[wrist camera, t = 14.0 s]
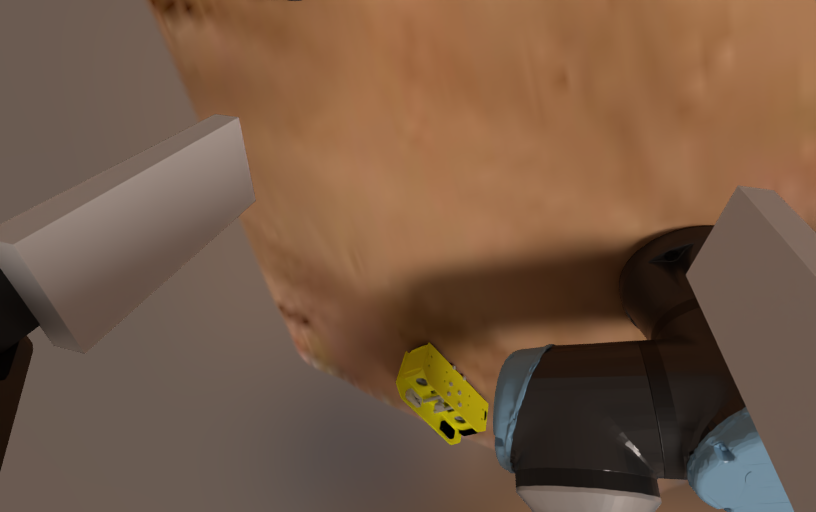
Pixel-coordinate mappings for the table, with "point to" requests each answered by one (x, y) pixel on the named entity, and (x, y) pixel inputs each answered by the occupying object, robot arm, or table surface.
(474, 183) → the table surface
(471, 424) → the yellow toy chassis
